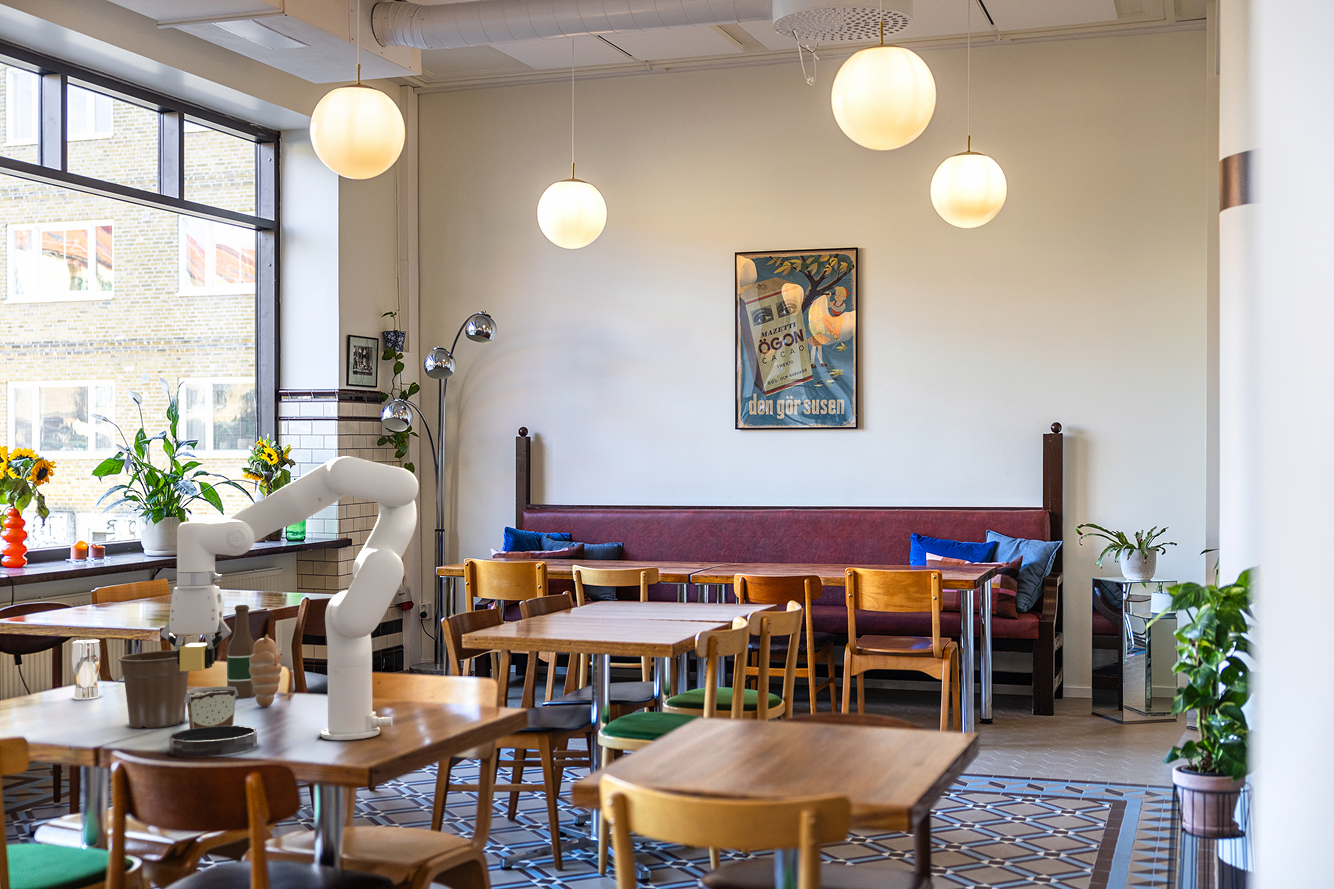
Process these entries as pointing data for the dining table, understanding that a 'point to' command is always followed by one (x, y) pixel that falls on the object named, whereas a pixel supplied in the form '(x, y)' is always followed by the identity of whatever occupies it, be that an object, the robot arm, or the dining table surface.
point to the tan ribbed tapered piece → (265, 670)
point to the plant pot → (154, 689)
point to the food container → (211, 706)
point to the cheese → (192, 657)
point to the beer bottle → (240, 655)
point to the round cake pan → (212, 740)
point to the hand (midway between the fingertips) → (195, 666)
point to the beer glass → (86, 668)
